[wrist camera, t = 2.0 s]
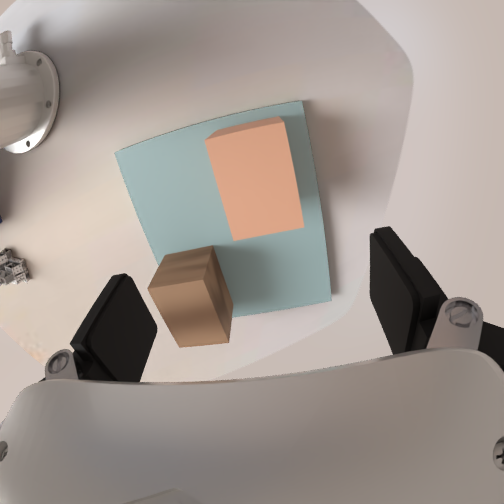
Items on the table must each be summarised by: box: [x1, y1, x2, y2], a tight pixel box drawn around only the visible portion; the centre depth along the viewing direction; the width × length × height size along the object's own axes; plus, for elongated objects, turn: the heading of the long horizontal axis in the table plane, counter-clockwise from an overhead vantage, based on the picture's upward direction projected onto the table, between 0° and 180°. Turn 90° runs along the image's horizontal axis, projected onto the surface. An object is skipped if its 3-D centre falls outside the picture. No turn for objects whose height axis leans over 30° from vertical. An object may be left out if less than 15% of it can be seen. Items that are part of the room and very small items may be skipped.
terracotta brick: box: [204, 116, 304, 241], centre depth 23 cm, size 8×6×6 cm
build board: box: [115, 101, 332, 318], centre depth 29 cm, size 22×18×1 cm
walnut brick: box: [148, 245, 233, 348], centre depth 29 cm, size 8×6×6 cm
